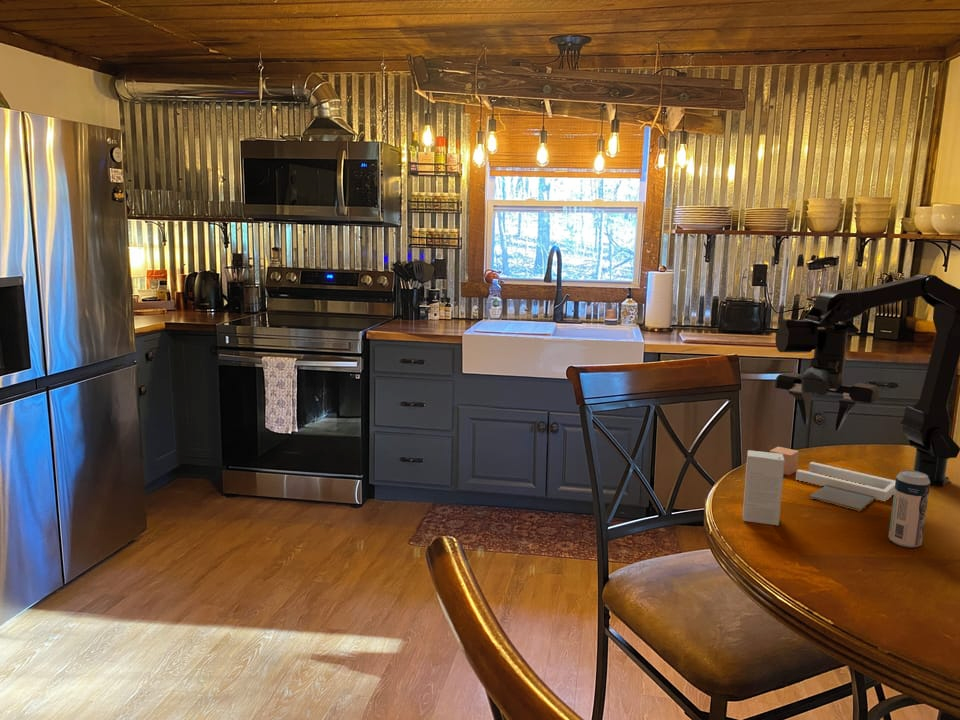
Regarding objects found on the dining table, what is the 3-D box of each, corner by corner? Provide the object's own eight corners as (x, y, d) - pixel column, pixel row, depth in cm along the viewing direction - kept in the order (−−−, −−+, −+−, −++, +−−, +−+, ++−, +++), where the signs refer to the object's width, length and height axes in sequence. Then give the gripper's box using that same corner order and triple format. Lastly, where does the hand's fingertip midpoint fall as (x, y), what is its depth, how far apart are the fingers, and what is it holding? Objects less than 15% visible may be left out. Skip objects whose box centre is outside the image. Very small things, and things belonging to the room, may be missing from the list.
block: (776, 466, 158) (778, 446, 157) (796, 470, 154) (799, 451, 154) (767, 470, 154) (769, 450, 154) (789, 475, 151) (791, 455, 150)
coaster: (825, 487, 144) (826, 484, 144) (874, 499, 138) (874, 496, 138) (809, 498, 138) (810, 495, 138) (860, 511, 132) (860, 508, 131)
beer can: (926, 550, 116) (936, 480, 113) (894, 547, 116) (903, 477, 114) (914, 538, 120) (924, 470, 118) (883, 535, 121) (892, 468, 119)
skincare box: (777, 517, 128) (783, 453, 126) (778, 526, 124) (785, 460, 122) (741, 512, 130) (747, 449, 128) (741, 521, 126) (747, 456, 124)
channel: (810, 470, 155) (811, 461, 154) (897, 490, 143) (898, 481, 143) (795, 480, 148) (796, 470, 148) (884, 502, 137) (886, 492, 136)
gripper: (767, 351, 146) (760, 425, 148) (867, 364, 133) (857, 445, 136) (788, 346, 154) (781, 416, 156) (884, 358, 141) (875, 434, 144)
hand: (821, 427), depth 148 cm, fingers open, 6 cm apart
